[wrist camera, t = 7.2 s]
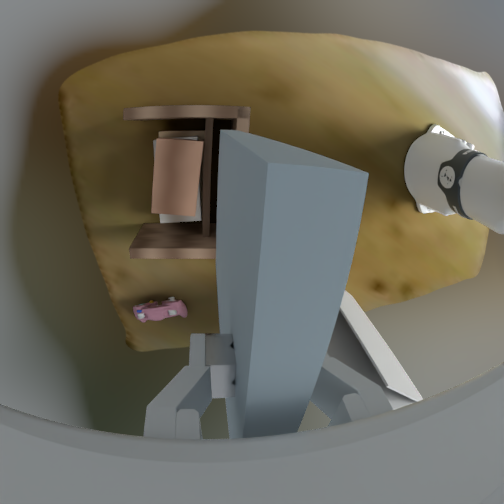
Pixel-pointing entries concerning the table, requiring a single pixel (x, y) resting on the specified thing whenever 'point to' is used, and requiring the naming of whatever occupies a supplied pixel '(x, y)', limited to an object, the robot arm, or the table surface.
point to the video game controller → (160, 310)
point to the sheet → (280, 272)
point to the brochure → (369, 354)
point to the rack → (203, 234)
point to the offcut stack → (178, 176)
